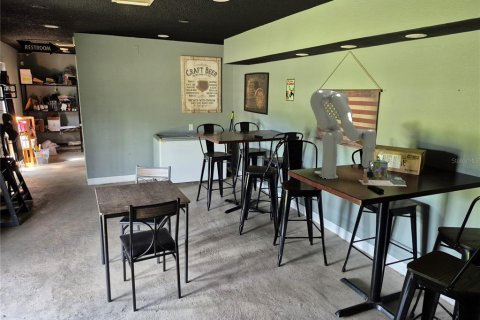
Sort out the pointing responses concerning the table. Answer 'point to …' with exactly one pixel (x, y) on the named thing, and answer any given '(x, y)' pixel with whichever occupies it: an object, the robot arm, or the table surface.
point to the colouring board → (384, 182)
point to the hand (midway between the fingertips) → (367, 175)
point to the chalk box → (380, 168)
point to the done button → (397, 179)
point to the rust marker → (365, 176)
